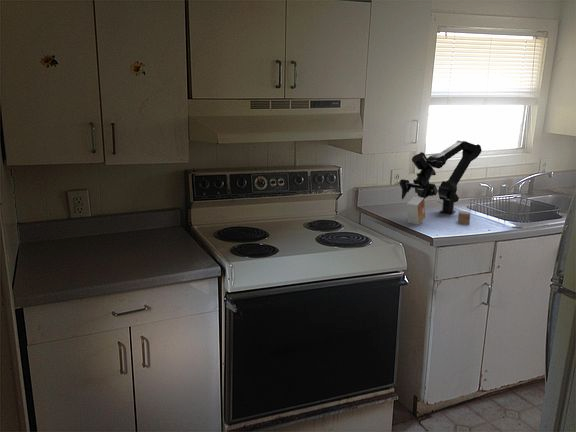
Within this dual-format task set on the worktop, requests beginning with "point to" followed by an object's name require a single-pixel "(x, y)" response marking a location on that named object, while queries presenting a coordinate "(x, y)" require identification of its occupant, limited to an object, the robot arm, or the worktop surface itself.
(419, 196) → the robot arm
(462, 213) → the walnut block
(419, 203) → the small box
